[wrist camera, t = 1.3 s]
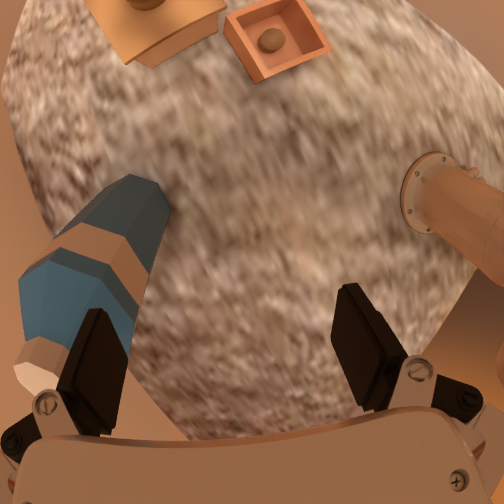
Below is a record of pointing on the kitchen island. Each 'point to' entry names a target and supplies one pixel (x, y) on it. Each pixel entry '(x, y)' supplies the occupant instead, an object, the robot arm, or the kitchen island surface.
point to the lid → (147, 21)
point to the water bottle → (90, 276)
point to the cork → (271, 41)
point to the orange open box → (280, 17)
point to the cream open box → (179, 42)
